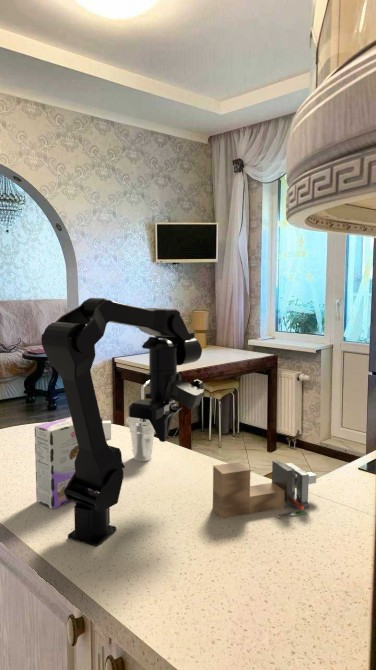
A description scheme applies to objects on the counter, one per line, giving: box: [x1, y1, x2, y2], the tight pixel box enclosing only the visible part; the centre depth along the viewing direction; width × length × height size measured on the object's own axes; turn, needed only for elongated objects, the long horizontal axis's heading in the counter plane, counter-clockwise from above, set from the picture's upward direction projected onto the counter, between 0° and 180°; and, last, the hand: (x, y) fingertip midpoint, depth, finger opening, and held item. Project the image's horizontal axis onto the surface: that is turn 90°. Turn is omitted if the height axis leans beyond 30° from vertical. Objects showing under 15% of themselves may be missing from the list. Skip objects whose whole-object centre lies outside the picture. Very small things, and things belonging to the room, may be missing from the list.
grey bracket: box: [271, 459, 317, 511], centre depth 104 cm, size 8×10×7 cm
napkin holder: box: [102, 420, 112, 440], centre depth 145 cm, size 15×11×6 cm
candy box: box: [34, 415, 103, 510], centre depth 107 cm, size 14×6×16 cm, turn 141°
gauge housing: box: [275, 462, 310, 520], centre depth 103 cm, size 8×10×7 cm
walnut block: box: [212, 461, 286, 519], centre depth 102 cm, size 14×4×9 cm, turn 110°
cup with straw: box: [125, 379, 156, 462], centre depth 129 cm, size 8×9×20 cm
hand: (163, 441), depth 106 cm, fingers closed
